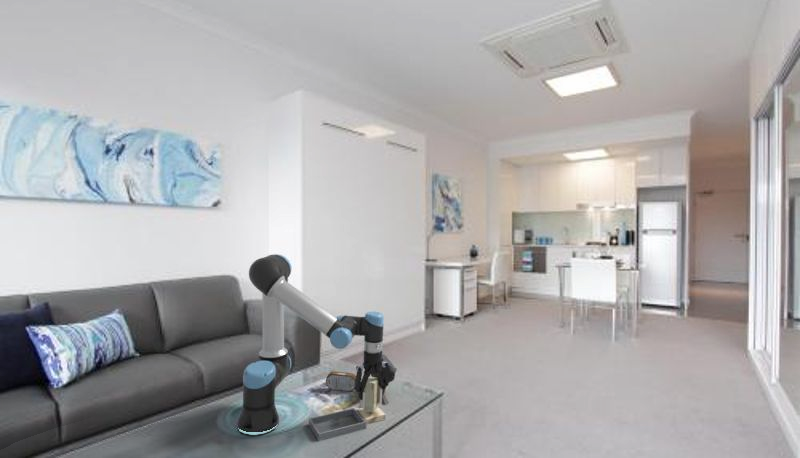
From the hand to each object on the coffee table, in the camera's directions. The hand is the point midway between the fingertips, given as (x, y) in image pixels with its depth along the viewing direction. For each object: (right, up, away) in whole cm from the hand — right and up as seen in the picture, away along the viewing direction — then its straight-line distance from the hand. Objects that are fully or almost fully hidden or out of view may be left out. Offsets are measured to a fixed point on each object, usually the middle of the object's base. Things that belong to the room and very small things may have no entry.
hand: (370, 404), depth 168 cm
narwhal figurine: (+4, -4, +20) cm, 21 cm away
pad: (0, -5, 0) cm, 5 cm away
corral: (-13, -5, -8) cm, 16 cm away
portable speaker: (-15, -3, +23) cm, 28 cm away
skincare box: (0, -2, 0) cm, 2 cm away
